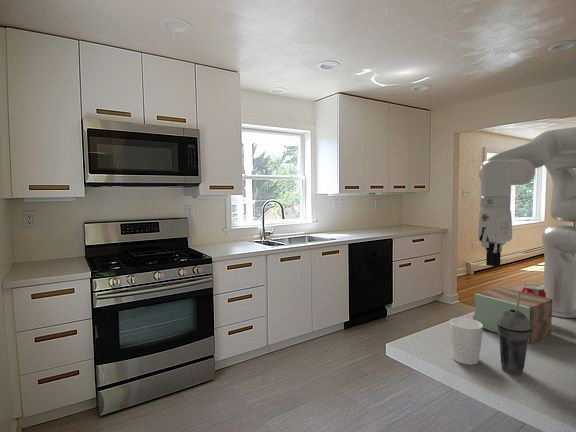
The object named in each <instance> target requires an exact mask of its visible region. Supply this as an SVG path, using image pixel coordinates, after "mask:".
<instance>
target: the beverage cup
mask: <svg viewBox="0 0 576 432" xmlns="http://www.w3.org/2000/svg"><path fill="white" fill-rule="evenodd" d="M520 295H521V293H518V298H517V305H516V310H507V311H504V312H503V313H502V314H501V315H500V316H499V318H498V322H497V326H498V332H499V333H498V338H499V339H498V340H499V353H500V363H501V370H502V372H504V373H506V374H509V375H512V376H517V377H518V376H522V375H523V373H524V369H525V363H526V357H527V356H526V355H527V350H528V344H529V343H528V338H529V336H530V331H531V325H530V322H529V320H528V318H527V317H526V316H525V315H524V314H523V313H522V312H520V311H518V309H519V302H520Z"/></svg>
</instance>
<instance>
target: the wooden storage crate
mask: <svg viewBox="0 0 576 432" xmlns="http://www.w3.org/2000/svg"><path fill="white" fill-rule="evenodd" d="M518 293H521V295H520V302H519V304H520V305H524V306H528V307H531V308H530V325H531V331H530V336H529V342H528V344H530V345H531V344H532V343H535V342H537V341H538V340H541V339H543V338H545V337H546V336H549V335H551V334H552V318H553V316H552V300H553V299H550V298H545V297H541V296H537V295H532V294H528V293H524V292H521V291H518V290H514V289H509V288H505V287H501V286H498V287H494V288H490V289H488V290H484V291H480V292H478V293H477V294H481V295H485V296H489V297H493V298H497V299H501V300H505V301H509V302H512V303H516V304H517V298H518Z"/></svg>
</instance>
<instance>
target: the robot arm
mask: <svg viewBox="0 0 576 432" xmlns="http://www.w3.org/2000/svg"><path fill="white" fill-rule="evenodd" d="M543 166H544V167H545V168H546V170H547V172H548V174H549V175H550V177H551V181H552V189H551V201H550V202H551V203H550V215H551V218H552V219H553V220H555V221H558V222H565V223H576V170H575V169H576V126H575V127H565V128H558V129H549V130H546V131H544V132H541V133H540V134H538V135H537V136H536V137H534V138H532V139H531V140H529V141H528V142H527V143H525V144H523V145H519V146H515V147H513V148H511V149H508V150H504V151H501V152H499V153H497V154H495V155H493V156H491V157H489V158H488V159H487V160H485V161H483V162H482V164H481V166H480V168H479V169H478V170H479V171H478V178H479V180H480V202H479V203H480V207H479V208H480V210H479V211H480V212H479V218H478V233H477V234H478V236H477V237H478V241H479V242H480V243H481V247H482V248H485V249H484V250H485V252H486V257H485V258H486V259H485V260H486V261H485V262H486V263H485V264H486V265H487V266H488V267H489V266H491V267H496V268H498V267H500V266H501V254H502V250H503V246H504V245H506V243H508V242H510V241H511V240H512V238H513V220H512V211H511V198H512V197H511V196H512V186H521V185H526V184H528V183H530V182H531V181H532V180H533V179H534V177H535V173H536V169H540V168H541V167H543ZM541 235H542V236H541V238H542V244H543V253H544V265H543V267H544V268H543V286H542V287H543V288H544V291H545V293H546V298H550V299H553V300H552V317H557V318H558V317H559V318H566V319H567V318H568V319H576V259H575V258H574V256H573V255H572V254H575V255H576V225H566V224H565V225H561V224H557V225H555V224H554V225H549V226H547V227H546V228H545V229H543V231H542V234H541Z"/></svg>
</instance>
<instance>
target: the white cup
mask: <svg viewBox="0 0 576 432" xmlns="http://www.w3.org/2000/svg"><path fill="white" fill-rule="evenodd" d="M483 329H484V328H483V325H482V324H481V323H480V322H478V321H476V320H473V318H469V317H453V318H451V319H449V332H450V333H449V335H450V336H449V337H450V338H449V339H450V353H451V354H450V356H451V359H453V361H455V362H456V363H460V364H463V365H470V366H471V365H477V364H479V362H480V354H481V348H482V342H483V341H482V339H483Z"/></svg>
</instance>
